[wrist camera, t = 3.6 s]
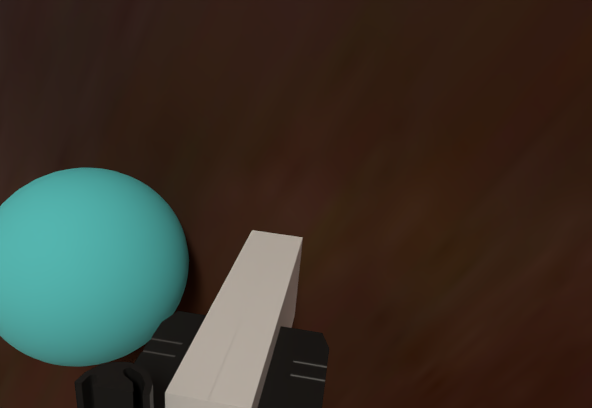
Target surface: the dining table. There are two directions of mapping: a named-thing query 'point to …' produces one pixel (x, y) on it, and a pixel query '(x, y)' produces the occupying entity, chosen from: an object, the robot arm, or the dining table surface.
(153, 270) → the ball
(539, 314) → the dining table surface
